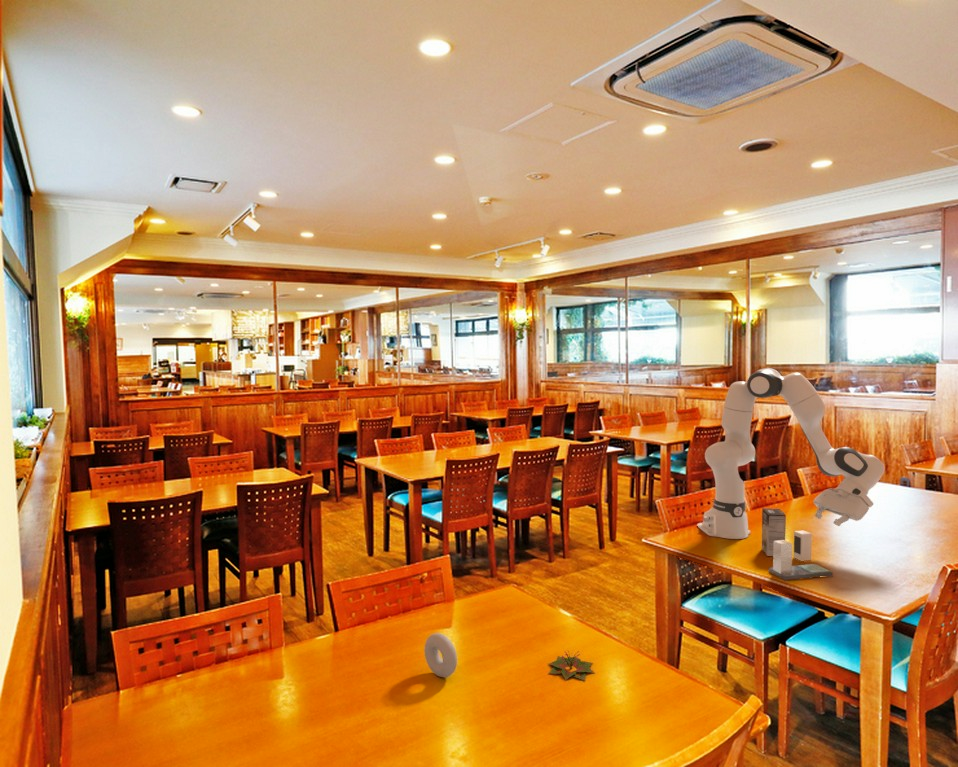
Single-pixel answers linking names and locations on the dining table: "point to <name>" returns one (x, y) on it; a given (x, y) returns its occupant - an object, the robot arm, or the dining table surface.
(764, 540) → the coffee box
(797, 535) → the white box
